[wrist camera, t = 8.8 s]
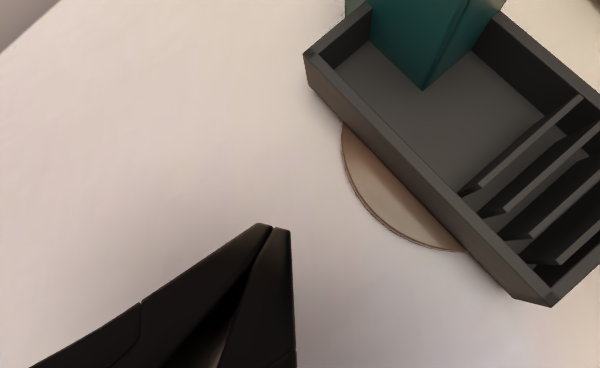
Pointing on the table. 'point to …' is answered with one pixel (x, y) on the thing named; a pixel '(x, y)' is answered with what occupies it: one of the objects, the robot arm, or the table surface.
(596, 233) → the dish rack
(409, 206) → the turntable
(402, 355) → the table surface
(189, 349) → the robot arm
